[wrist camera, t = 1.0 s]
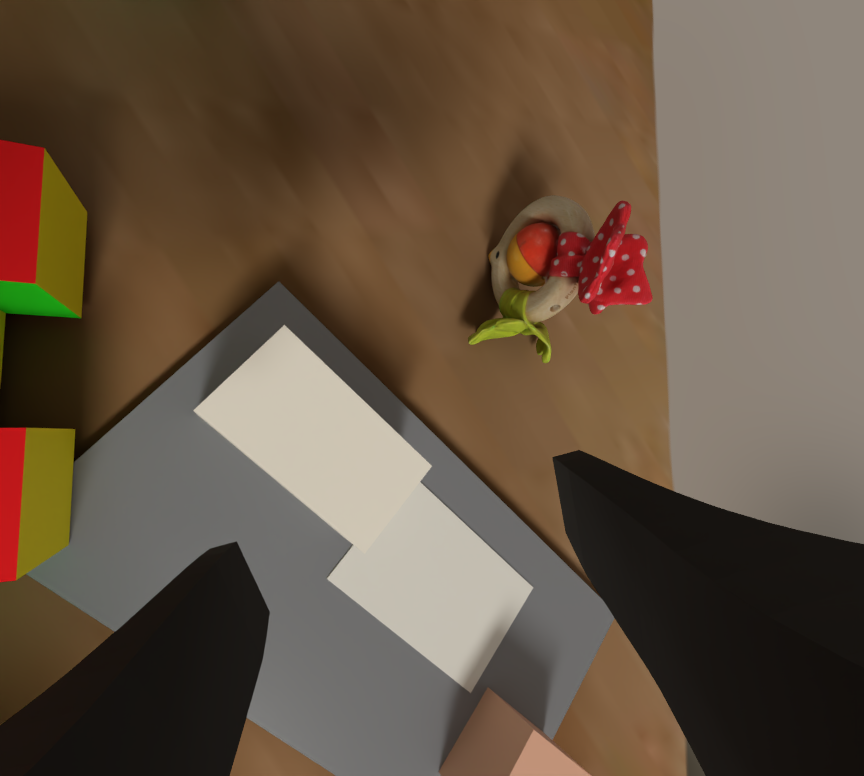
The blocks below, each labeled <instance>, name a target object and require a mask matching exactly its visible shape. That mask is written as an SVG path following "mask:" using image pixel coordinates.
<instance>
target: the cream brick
mask: <svg viewBox="0 0 864 776" xmlns="http://www.w3.org/2000/svg"><path fill="white" fill-rule="evenodd" d="M193 411H194V412H195V413H196V414H197V415H198V416H199V417H200V418H201V419H203V420H204V421H205V422H206V423H207V424H209V425H210V426H211V427H212V428H213V429H215V430H216V431H217V432H218V433H219V434H221V435H222V436H223V437H224V438H225V439H227V440H228V441H229V442H230V443H231V444H233V445H234V446H235V447H236V448H237V449H239V450H240V451H241V452H242V453H243V454H244V455H246V456H247V457H248V458H249V459H250V460H252V461H253V462H254V463H255V464H256V465H258V466H259V467H260V468H261V469H262V470H264V471H265V472H266V473H267V474H268V475H270V476H271V477H272V478H273V479H274V480H276V481H277V482H278V483H279V484H280V485H282V486H283V487H284V488H285V489H286V490H288V491H289V492H290V493H291V494H292V495H293V496H295V497H296V498H297V499H298V500H299V501H301V502H302V503H303V504H304V505H305V506H307V507H308V508H309V509H310V510H311V511H313V512H314V513H315V514H316V515H317V516H319V517H320V518H321V519H322V520H323V521H325V522H326V523H327V524H328V525H329V526H331V527H332V528H333V529H334V530H335V531H337V532H338V533H339V534H340V535H341V536H343V537H344V538H345V539H346V540H348V541H349V542H350V543H352V544H353V545H354V546H355V547H357V548H358V549H359V550H360V551H362V552H363V553H364V554H365V553H366V552H367V550H368V549H369V548H370V546H371V545H372V544H373V542H374V541H375V540H376V539H377V537H378V536H379V535H380V533H381V532H382V531H383V529H384V528H385V527H386V526H387V524H388V523H389V522H390V520H391V519H392V518H393V516H394V515H395V514H396V512H397V511H398V510H399V509H400V507H401V506H402V505H403V503H404V502H405V501H406V499H407V498H408V497H409V496H410V494H411V493H412V492H413V490H414V489H415V488H416V486H417V485H418V484H419V483H420V481H421V480H422V479H423V477H424V476H425V475H426V473H427V472H428V471H429V470H430V468H431V467H432V465H430V464H429V463H428V462H427V461H426V460H425V459H424V458H423V457H422V456H421V455H420V454H419V453H418V452H417V451H416V450H415V449H414V448H413V447H412V446H411V445H410V444H409V443H407V442H406V441H405V440H404V439H403V438H402V437H401V436H400V435H399V434H398V433H397V432H396V431H395V430H394V429H393V428H392V427H391V426H390V425H389V424H388V423H387V422H386V421H384V420H383V419H382V418H381V417H380V416H379V415H378V414H377V413H376V412H375V411H374V410H373V409H372V408H371V407H370V406H369V405H368V404H367V403H366V402H365V401H364V400H363V399H361V398H360V397H359V396H358V395H357V394H356V393H355V392H354V391H353V390H352V389H351V388H350V387H349V386H348V385H347V384H346V383H345V382H344V381H343V380H342V379H341V378H339V377H338V376H337V375H336V374H335V373H334V372H333V371H332V370H331V369H330V368H329V367H328V366H327V365H326V364H325V363H324V362H323V361H322V360H321V359H320V358H319V357H318V356H316V355H315V354H314V353H313V352H312V351H311V350H310V349H309V348H308V347H307V346H306V345H305V344H304V343H303V342H302V341H301V340H300V339H299V338H298V337H297V336H296V335H295V334H293V333H292V332H291V331H290V330H289V329H288V328H287V327H286V326H285V325H284V326H283V327H282V328H281V329H280V330H279V331H277V332H276V333H275V334H274V335H273V336H272V337H271V338H270V339H269V340H268V341H267V342H266V343H265V344H264V345H263V346H261V347H260V348H259V349H258V350H257V351H256V352H255V353H254V354H253V355H252V356H251V357H250V358H249V359H248V360H247V361H245V362H244V363H243V364H242V365H241V366H240V367H239V368H238V369H237V370H236V371H235V372H234V373H233V374H232V375H231V376H229V377H228V378H227V379H226V380H225V381H224V382H223V383H222V384H221V385H220V386H219V387H218V388H217V389H216V390H215V391H213V392H212V393H211V394H210V395H209V396H208V397H207V398H206V399H205V400H204V401H203V402H202V403H201V404H200V405H199V406H197V407H196V408H195V409H194V410H193Z"/></svg>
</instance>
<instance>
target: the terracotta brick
mask: <svg viewBox="0 0 864 776" xmlns="http://www.w3.org/2000/svg"><path fill="white" fill-rule="evenodd" d="M439 773H440V775H441V776H591V775H590V774H589V773H588V772H587V771H586V770H585V769H584V768H582V767H581V766H580V765H579V764H578V763H577V762H576V761H575V760H574V759H572V758H571V757H570V756H569V755H568V754H567V753H566V752H565V751H564V750H563V749H561V748H560V747H559V746H558V745H557V744H556V743H555V742H554V741H553V740H551V739H550V738H549V737H548V736H547V735H546V734H545V733H544V732H543V731H541V730H540V729H539V728H538V727H536V726H535V725H534V724H533V723H531V722H530V721H529V720H528V719H527V718H525V717H524V716H523V715H522V714H520V713H519V712H518V711H517V710H515V709H514V708H513V707H512V706H511V705H509V704H508V703H507V702H506V701H504V700H503V699H502V698H501V697H499V696H498V695H497V694H496V693H494V692H493V691H492V690H491V689H490V688H487V690H486V691H485V693H484V695H483V696H482V698H481V700H480V702H479V703H478V705H477V707H476V708H475V710H474V712H473V714H472V715H471V717H470V719H469V720H468V722H467V724H466V726H465V727H464V729H463V731H462V732H461V734H460V736H459V738H458V739H457V741H456V743H455V744H454V746H453V748H452V750H451V751H450V753H449V755H448V756H447V758H446V760H445V762H444V763H443V765H442V767H441V768H440V770H439Z"/></svg>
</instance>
